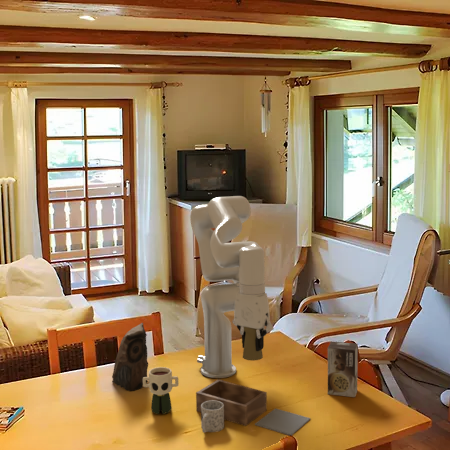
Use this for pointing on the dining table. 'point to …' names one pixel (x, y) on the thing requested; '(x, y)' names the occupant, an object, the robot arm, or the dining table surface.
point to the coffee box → (342, 368)
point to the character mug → (160, 388)
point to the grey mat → (282, 421)
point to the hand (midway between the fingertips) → (252, 347)
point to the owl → (131, 360)
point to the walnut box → (234, 401)
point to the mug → (212, 416)
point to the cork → (251, 345)
